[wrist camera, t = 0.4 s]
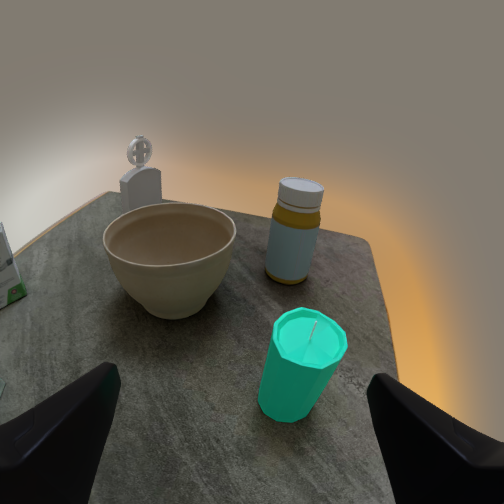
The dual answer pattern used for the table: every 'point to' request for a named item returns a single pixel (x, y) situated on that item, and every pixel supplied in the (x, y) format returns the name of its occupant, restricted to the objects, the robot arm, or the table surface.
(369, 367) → the table surface
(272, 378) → the candle
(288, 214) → the bottle
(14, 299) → the ink box
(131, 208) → the gravestone
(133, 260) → the planter bowl
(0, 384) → the green divided tray
